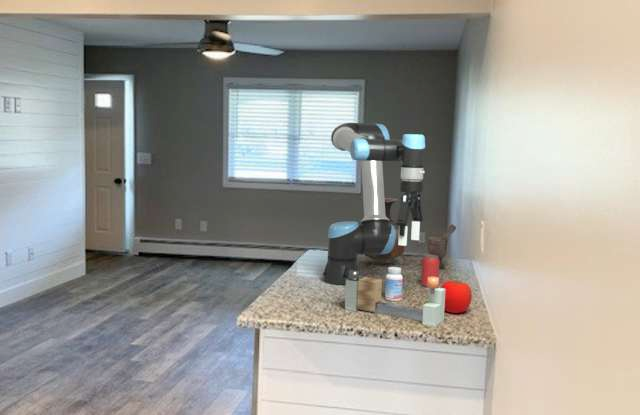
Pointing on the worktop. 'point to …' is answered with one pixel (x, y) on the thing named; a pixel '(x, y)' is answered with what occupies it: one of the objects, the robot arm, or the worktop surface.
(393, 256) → the vase
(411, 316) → the rail
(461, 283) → the tomato
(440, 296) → the pale stepped block
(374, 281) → the block
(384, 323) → the worktop surface
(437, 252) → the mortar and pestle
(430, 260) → the beer can
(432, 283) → the cylinder
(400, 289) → the pill bottle
